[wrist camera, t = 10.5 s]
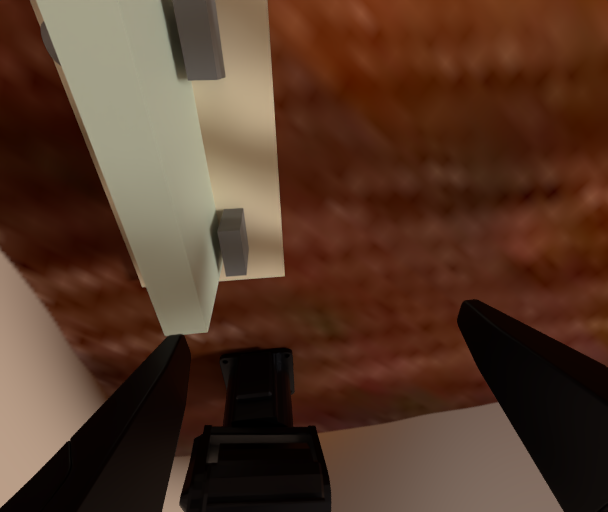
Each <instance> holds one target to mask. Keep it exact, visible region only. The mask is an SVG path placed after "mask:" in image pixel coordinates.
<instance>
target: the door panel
mask: <svg viewBox="0 0 608 512" xmlns="http://www.w3.org/2000/svg"><path fill="white" fill-rule="evenodd" d="M36 1H37V4H38V7H39V9H40V12H41V14H42V17H43V20H44V21H43V22H42V24H41V36H42V39H43V42H44V45H45V47H46V49H47V51H48V53H49V54H50V56H51V57H52V58H53V60H54V61H55V62H56V63H57V64H59V65H60V66H61V67H62V69H63V72H64V74H65V77H66V80H67V82H68V85H69V87H70V90H71V93H72V95H73V98H74V100H75V103H76V106H77V108H78V111H79V113H80V116H81V119H82V121H83V124H84V126H85V129H86V132H87V134H88V137H89V139H90V142H91V145H92V147H93V150H94V152H95V155H96V158H97V160H98V163H99V165H100V168H101V171H102V173H103V176H104V178H105V181H106V184H107V186H108V189H109V192H110V194H111V197H112V199H113V202H114V205H115V207H116V210H117V212H118V215H119V218H120V220H121V223H122V225H123V228H124V231H125V233H126V236H127V238H128V241H129V244H130V246H131V249H132V251H133V254H134V257H135V259H136V262H137V264H138V267H139V270H140V272H141V275H142V277H143V280H144V283H145V285H146V288H147V290H148V293H149V296H150V298H151V301H152V303H153V306H154V309H155V311H156V314H157V316H158V319H159V322H160V324H161V327H162V330H163V332H164V335H165V336H169V335H174V334H194V333H205V332H208V329H209V324H210V320H211V315H212V310H213V306H214V301H215V296H216V292H217V287H218V282H219V278H220V273H221V269H222V264H223V258H222V253H221V248H220V243H219V238H218V233H217V231H218V228H219V224H218V219H217V213H216V208H215V203H214V198H213V192H212V187H211V182H210V177H209V171H208V166H207V161H206V156H205V150H204V145H203V140H202V135H201V129H200V124H199V119H198V114H197V108H196V103H195V98H194V93H193V87H192V82H191V81H188V79H187V74H186V69H185V63H184V58H183V53H182V48H181V43H180V38H179V33H178V28H177V22H176V17H175V12H174V7H173V2H172V0H36Z"/></svg>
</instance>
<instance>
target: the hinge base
mask: <svg viewBox="0 0 608 512" xmlns="http://www.w3.org/2000/svg"><path fill="white" fill-rule="evenodd" d="M30 2H31V5H32V7H33V10H34V12H35V15H36V17H37V20H38V22H39V25H40V27H41V24H42V22H43V21H44V20H43V17H42V14H41V12H40V9H39V7H38V4H37V1H36V0H30ZM172 2H173V7H174V12H175V17H176V22H177V28H178V33H179V38H180V43H181V48H182V53H183V58H184V63H185V69H186V74H187V79H188V81H191V82H192V87H193V93H194V98H195V103H196V108H197V114H198V119H199V124H200V129H201V135H202V140H203V145H204V150H205V156H206V161H207V166H208V171H209V177H210V182H211V187H212V192H213V198H214V203H215V208H216V213H217V219H218V224H219V228H218V231H217V233H218V238H219V243H220V248H221V253H222V258H223V264H222V269H221V273H220V278H219V281H228V280H241V279H254V278H267V277H280V276H285V272H284V257H283V241H282V225H281V209H280V193H279V177H278V162H277V146H276V130H275V114H274V98H273V83H272V67H271V51H270V35H269V19H268V4H267V0H172ZM53 61H54V60H53ZM54 63H55V66H56V68H57V71H58V73H59V76H60V78H61V81H62V84H63V86H64V89H65V91H66V94H67V96H68V99H69V101H70V104H71V107H72V109H73V112H74V114H75V117H76V119H77V122H78V124H79V127H80V129H81V132H82V135H83V137H84V140H85V142H86V145H87V147H88V150H89V152H90V155H91V158H92V160H93V163H94V165H95V168H96V170H97V173H98V175H99V178H100V180H101V183H102V186H103V188H104V191H105V193H106V196H107V198H108V201H109V203H110V206H111V209H112V211H113V214H114V216H115V219H116V221H117V224H118V226H119V229H120V231H121V234H122V237H123V239H124V242H125V244H126V247H127V249H128V252H129V254H130V257H131V260H132V262H133V265H134V267H135V270H136V272H137V275H138V277H139V280H140V282H141V285H142V287H146V285H145V283H144V280H143V277H142V275H141V272H140V270H139V267H138V264H137V262H136V259H135V257H134V254H133V251H132V249H131V246H130V244H129V241H128V238H127V236H126V233H125V231H124V228H123V225H122V223H121V220H120V218H119V215H118V212H117V210H116V207H115V205H114V202H113V199H112V197H111V194H110V192H109V189H108V186H107V184H106V181H105V178H104V176H103V173H102V171H101V168H100V165H99V163H98V160H97V158H96V155H95V152H94V150H93V147H92V145H91V142H90V139H89V137H88V134H87V132H86V129H85V126H84V124H83V121H82V119H81V116H80V113H79V111H78V108H77V106H76V103H75V100H74V98H73V95H72V93H71V90H70V87H69V85H68V82H67V80H66V77H65V74H64V72H63V69H62V67H61V66H60V65H59V64H57V63H56V62H55V61H54Z"/></svg>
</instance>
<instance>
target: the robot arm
mask: <svg viewBox="0 0 608 512" xmlns="http://www.w3.org/2000/svg"><path fill="white" fill-rule="evenodd" d="M457 323H458V327H459V329H460V331H461V333H462V335H463V337H464V339H465V342H466V344H467V346H468V348H469V350H470V352H471V354H472V357H473V359H474V361H475V363H476V365H477V367H478V369H479V370H480V372H481V374H482V376H483V377H484V379H485V381H486V382H487V384H488V386H489V387H490V389H491V391H492V392H493V394H494V396H495V397H496V399H497V401H498V402H499V404H500V406H501V407H502V409H503V411H504V412H505V414H506V416H507V417H508V419H509V421H510V422H511V424H512V426H513V427H514V429H515V431H516V432H517V434H518V436H519V437H520V439H521V441H522V442H523V444H524V446H525V447H526V449H527V451H528V453H529V454H530V456H531V457H532V459H533V461H534V462H535V464H536V466H537V467H538V469H539V471H540V473H541V474H542V476H543V478H544V479H545V481H546V483H547V484H548V486H549V488H550V489H551V491H552V493H553V494H554V496H555V498H556V499H557V501H558V503H559V504H560V506H561V508H562V509H563V511H564V512H608V367H606V366H605V365H603V364H601V363H600V362H598V361H596V360H594V359H592V358H590V357H588V356H586V355H584V354H582V353H580V352H578V351H576V350H574V349H572V348H570V347H568V346H567V345H565V344H563V343H561V342H559V341H557V340H555V339H553V338H551V337H549V336H547V335H545V334H543V333H541V332H539V331H537V330H535V329H534V328H532V327H530V326H528V325H526V324H524V323H522V322H520V321H518V320H516V319H514V318H512V317H510V316H508V315H506V314H504V313H502V312H501V311H499V310H497V309H495V308H493V307H491V306H489V305H487V304H485V303H483V302H481V301H479V300H476V299H473V300H465V301H463V302H462V304H461V308H460V311H459V314H458V318H457ZM190 362H191V353H190V349H189V347H188V344H187V341H186V339H185V336H184V335H183V334H174V335H169V336H168V337H167V338H166V339H165V340H164V341H163V342H162V343H161V344H160V345H159V346H158V347H157V348H156V349H155V350H154V351H153V352H152V353H151V354H150V355H149V356H148V358H147V359H146V360H145V361H144V362H143V363H142V364H141V365H140V366H139V367H138V368H137V369H136V370H135V371H134V372H133V373H132V374H131V375H130V376H129V377H128V379H127V380H126V381H125V382H124V383H123V384H122V385H121V386H120V387H119V388H118V389H117V390H116V391H115V392H114V393H113V394H112V395H111V396H110V397H109V398H108V400H107V401H106V402H105V403H104V404H103V405H102V406H101V407H100V408H99V409H98V410H97V411H96V412H95V413H94V414H93V415H92V416H91V418H89V419H88V421H87V422H86V423H85V424H84V425H83V426H82V427H81V428H80V429H79V430H78V431H77V432H76V433H75V434H74V435H73V436H72V437H71V439H70V441H68V442H66V444H65V445H64V446H63V447H62V448H61V449H60V450H59V451H58V452H57V453H56V454H55V455H54V456H53V457H52V458H51V459H50V460H49V461H48V462H47V463H46V464H45V465H44V466H43V467H42V468H41V469H40V470H39V471H38V472H37V473H36V474H35V475H34V476H33V477H32V478H31V479H30V480H29V481H28V482H27V483H26V484H25V485H24V486H23V487H22V488H21V489H20V490H19V491H18V492H17V493H16V494H15V495H14V496H13V497H12V498H11V499H9V500H8V501H7V502H6V503H5V504H4V505H3V506H2V507H1V508H0V512H162V509H163V504H164V500H165V495H166V491H167V487H168V482H169V478H170V473H171V469H172V464H173V460H174V456H175V451H176V447H177V442H178V438H179V433H180V429H181V425H182V420H183V416H184V411H185V406H186V398H187V389H188V380H189V371H190ZM220 366H221V370H222V374H223V378H224V381H225V385H226V389H227V395H226V403H225V412H224V420H223V427H212V425H205V426H204V432H203V434H201V435H200V436H198V437H196V438H194V443H193V448H192V453H191V458H190V463H189V467H188V471H187V474H186V478H185V482H184V485H183V489H182V493H181V497H180V507H181V508H182V510H183V511H184V512H331V488H330V481H329V475H328V470H327V467H326V463H325V460H324V456H323V452H322V449H321V445H320V441H319V438H318V434H317V430H316V427H315V426H308V427H293V416H292V403H291V395H292V394H293V393H294V374H293V356H292V350H291V349H278V350H267V351H257V352H247V353H237V354H226V355H222V356H221V357H220Z"/></svg>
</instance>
